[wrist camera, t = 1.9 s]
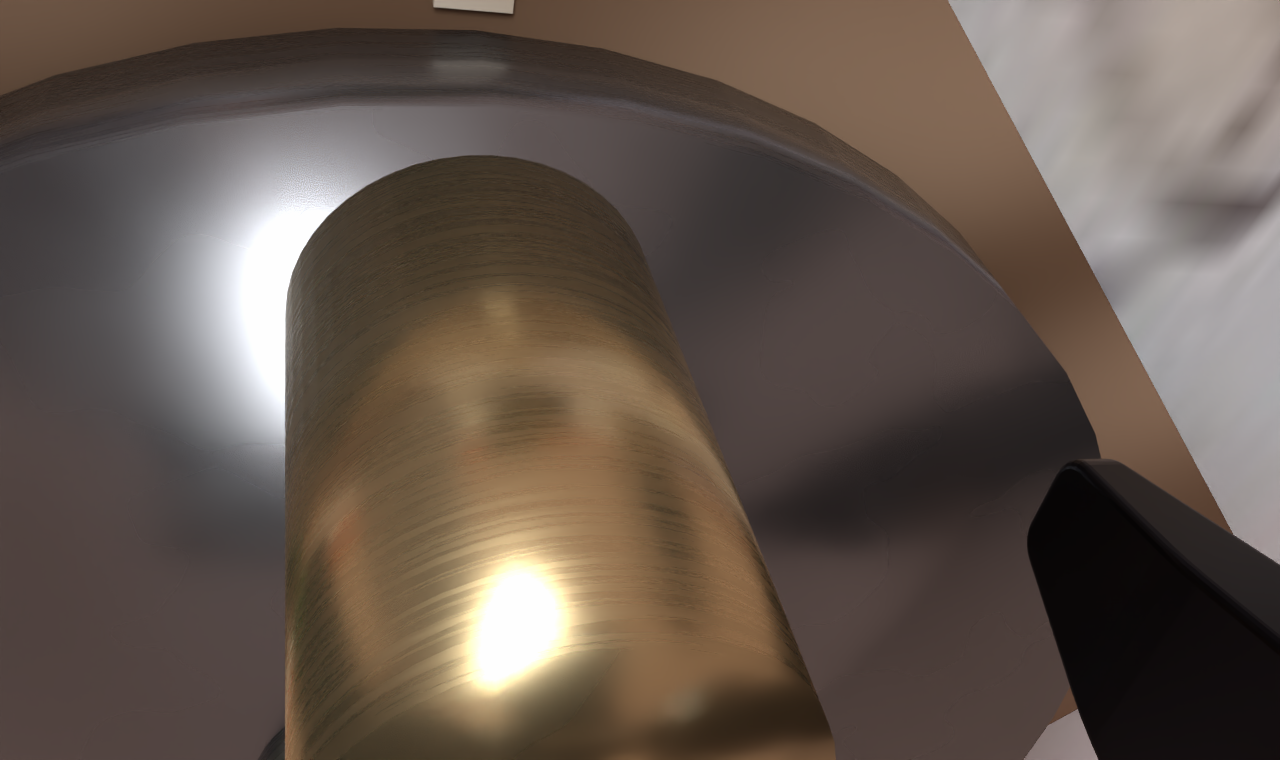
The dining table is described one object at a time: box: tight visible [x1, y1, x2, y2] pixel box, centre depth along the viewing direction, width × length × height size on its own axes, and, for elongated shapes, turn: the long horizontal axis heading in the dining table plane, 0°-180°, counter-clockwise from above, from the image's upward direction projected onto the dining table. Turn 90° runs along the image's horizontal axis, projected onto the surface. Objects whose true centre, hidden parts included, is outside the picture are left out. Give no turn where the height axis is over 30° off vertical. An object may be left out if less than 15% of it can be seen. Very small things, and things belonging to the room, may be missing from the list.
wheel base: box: [0, 0, 1233, 725], centre depth 17 cm, size 20×20×3 cm
